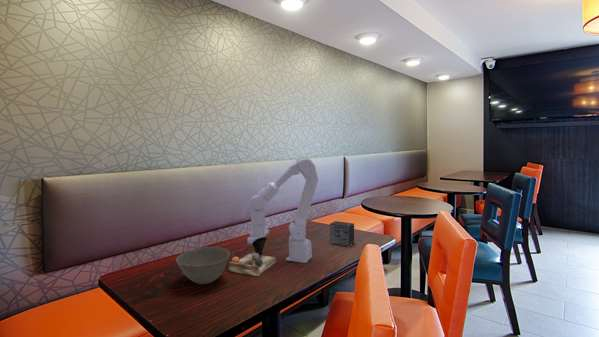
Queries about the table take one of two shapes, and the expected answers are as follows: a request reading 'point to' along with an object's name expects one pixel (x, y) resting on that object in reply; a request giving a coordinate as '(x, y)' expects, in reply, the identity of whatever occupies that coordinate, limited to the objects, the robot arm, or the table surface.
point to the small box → (342, 233)
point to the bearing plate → (251, 265)
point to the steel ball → (255, 255)
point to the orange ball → (235, 259)
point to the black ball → (258, 262)
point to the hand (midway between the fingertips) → (259, 254)
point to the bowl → (203, 263)
